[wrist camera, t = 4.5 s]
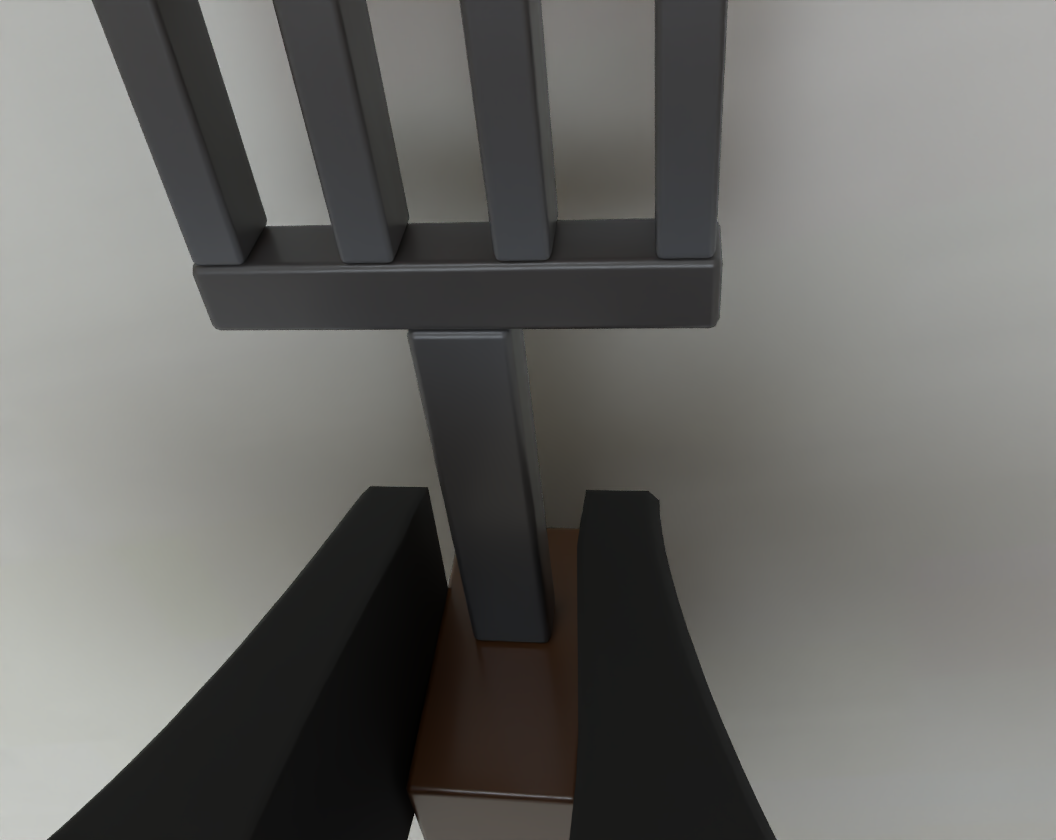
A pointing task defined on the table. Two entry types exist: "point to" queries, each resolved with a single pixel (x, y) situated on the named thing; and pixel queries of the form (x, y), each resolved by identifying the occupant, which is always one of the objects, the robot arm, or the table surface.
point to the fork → (451, 326)
